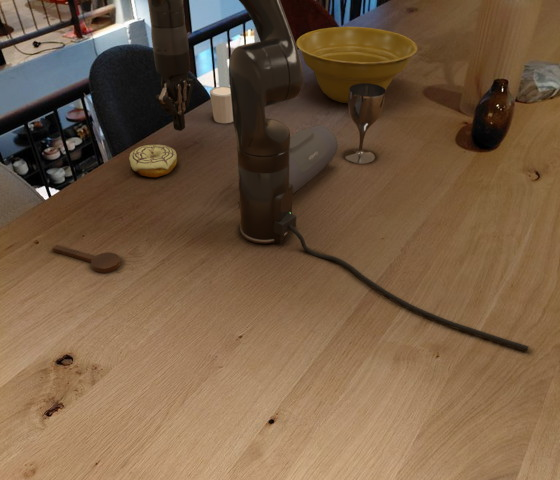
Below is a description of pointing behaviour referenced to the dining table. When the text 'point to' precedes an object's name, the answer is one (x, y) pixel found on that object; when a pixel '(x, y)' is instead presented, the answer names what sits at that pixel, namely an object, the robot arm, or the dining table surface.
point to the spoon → (93, 259)
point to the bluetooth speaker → (310, 154)
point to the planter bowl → (354, 57)
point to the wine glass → (364, 115)
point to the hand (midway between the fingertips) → (179, 129)
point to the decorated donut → (153, 160)
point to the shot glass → (221, 104)
